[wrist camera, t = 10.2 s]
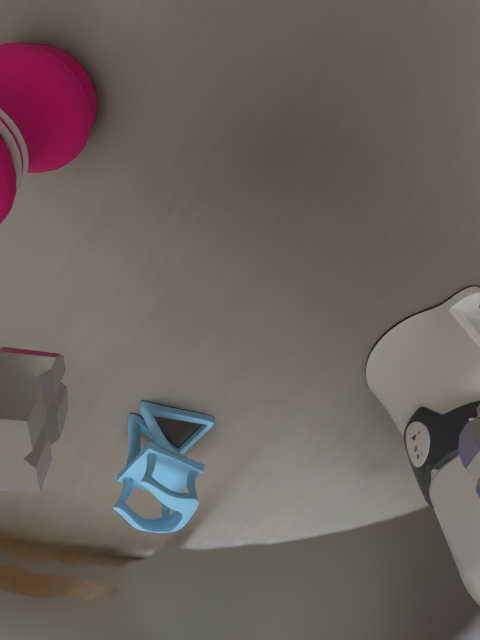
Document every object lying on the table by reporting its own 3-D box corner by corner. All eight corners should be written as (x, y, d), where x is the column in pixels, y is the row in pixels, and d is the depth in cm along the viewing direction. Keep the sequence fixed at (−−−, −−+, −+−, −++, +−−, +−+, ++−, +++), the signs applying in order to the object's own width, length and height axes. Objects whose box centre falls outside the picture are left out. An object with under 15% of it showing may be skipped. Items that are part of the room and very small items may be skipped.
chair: (152, 387, 49) (134, 486, 39) (215, 417, 52) (213, 516, 43) (118, 426, 53) (94, 526, 43) (179, 452, 56) (169, 551, 46)
